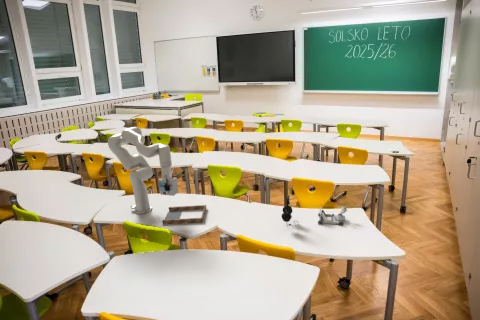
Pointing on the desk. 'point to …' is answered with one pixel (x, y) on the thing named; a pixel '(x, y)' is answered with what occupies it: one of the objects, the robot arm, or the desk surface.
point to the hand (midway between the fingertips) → (168, 188)
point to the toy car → (332, 217)
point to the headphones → (287, 212)
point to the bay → (174, 216)
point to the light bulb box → (172, 185)
